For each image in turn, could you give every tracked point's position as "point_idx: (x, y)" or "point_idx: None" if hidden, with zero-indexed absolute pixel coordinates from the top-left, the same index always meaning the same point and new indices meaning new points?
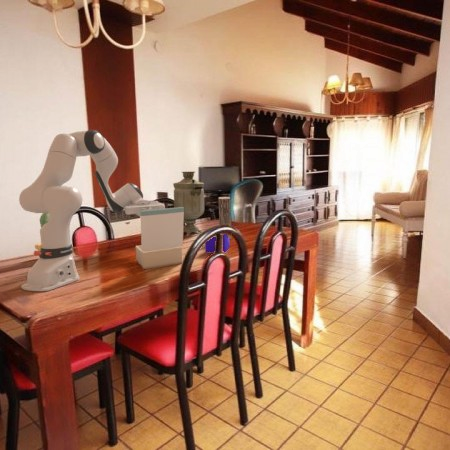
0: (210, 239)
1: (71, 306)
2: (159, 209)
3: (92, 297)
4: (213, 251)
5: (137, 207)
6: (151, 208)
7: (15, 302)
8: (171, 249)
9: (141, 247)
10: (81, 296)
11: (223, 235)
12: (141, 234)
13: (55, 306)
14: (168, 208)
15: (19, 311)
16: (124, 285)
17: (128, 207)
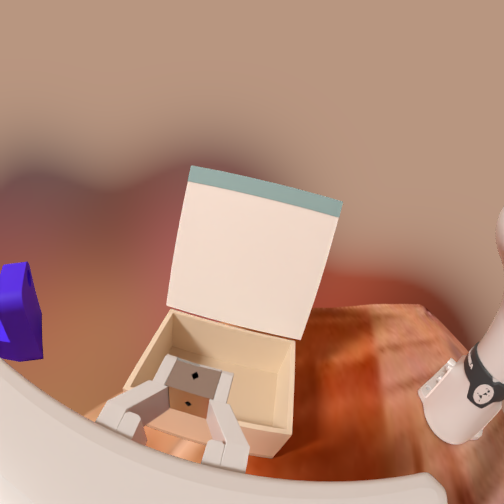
0: (30, 310)
1: (398, 309)
2: (278, 184)
3: (380, 316)
4: (40, 334)
5: (304, 481)
6: (113, 405)
7: (461, 350)
8: (202, 320)
9: (304, 328)
10: (395, 326)
11: (29, 269)
12: (318, 283)
13: (415, 318)
14: (245, 176)
15: (444, 327)
16: (337, 325)
17: (422, 476)
